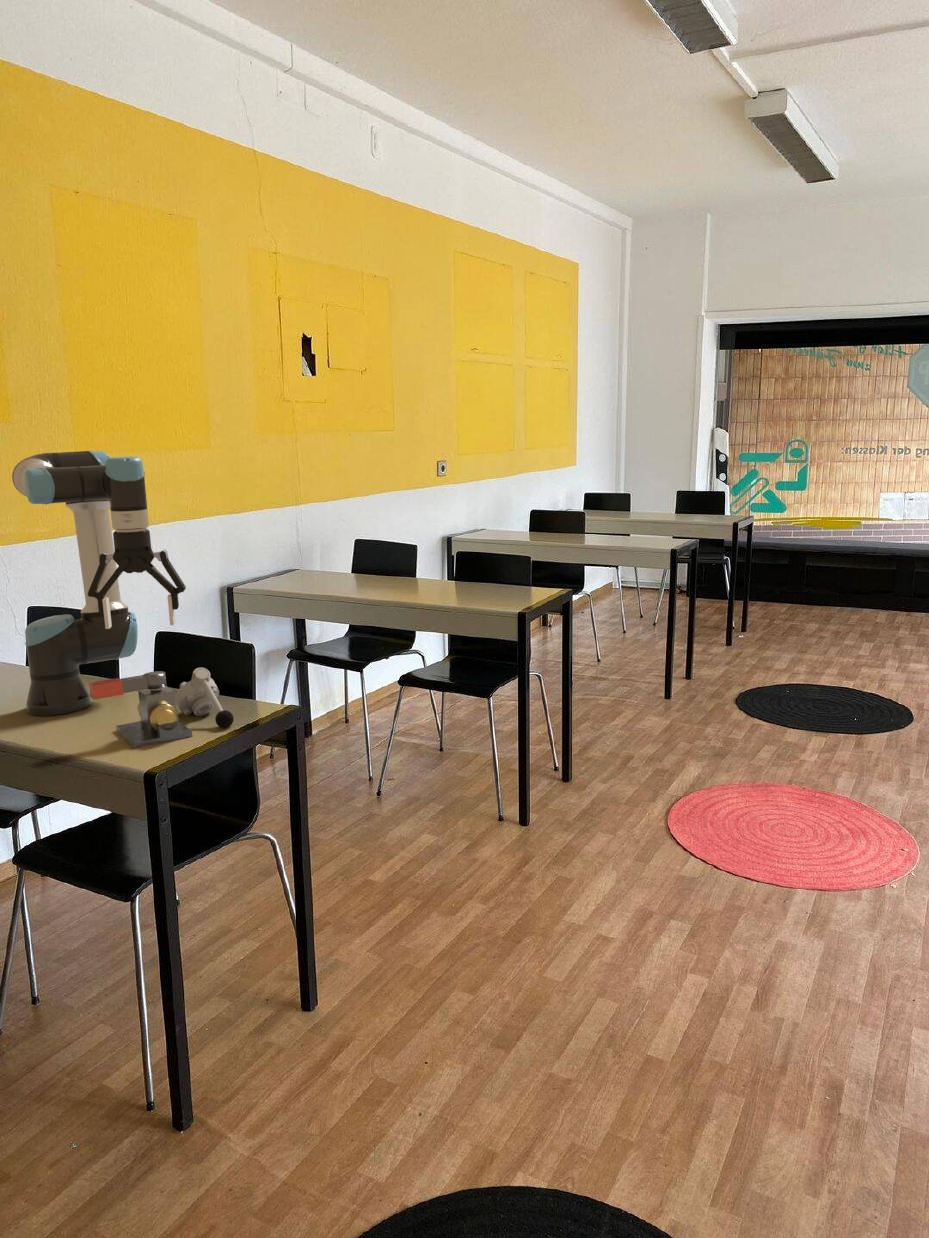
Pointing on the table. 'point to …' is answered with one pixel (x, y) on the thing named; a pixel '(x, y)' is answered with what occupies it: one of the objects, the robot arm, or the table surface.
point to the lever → (127, 685)
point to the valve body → (154, 720)
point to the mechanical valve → (202, 698)
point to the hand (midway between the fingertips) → (140, 626)
